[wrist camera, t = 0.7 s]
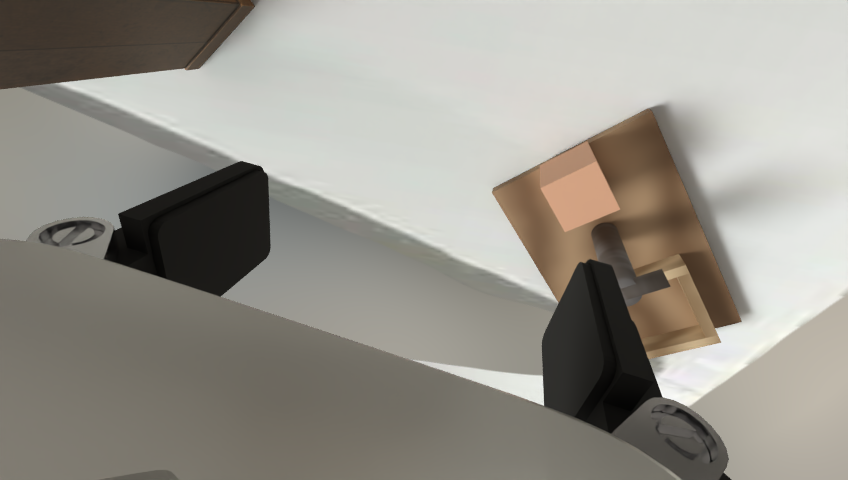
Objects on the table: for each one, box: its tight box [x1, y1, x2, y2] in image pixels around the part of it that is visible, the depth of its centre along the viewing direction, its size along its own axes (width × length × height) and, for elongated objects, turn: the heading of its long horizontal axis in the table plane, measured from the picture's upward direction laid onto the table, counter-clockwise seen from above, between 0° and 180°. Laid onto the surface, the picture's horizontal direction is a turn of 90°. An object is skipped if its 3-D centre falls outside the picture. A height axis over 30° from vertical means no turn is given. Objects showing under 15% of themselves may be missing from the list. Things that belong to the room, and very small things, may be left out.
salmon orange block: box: [540, 141, 620, 232], centre depth 32 cm, size 4×4×6 cm
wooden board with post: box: [492, 109, 742, 359], centre depth 34 cm, size 15×24×12 cm, turn 34°
